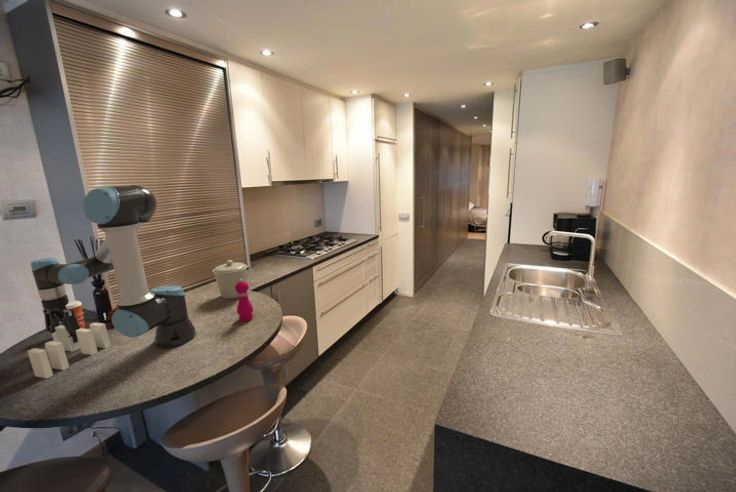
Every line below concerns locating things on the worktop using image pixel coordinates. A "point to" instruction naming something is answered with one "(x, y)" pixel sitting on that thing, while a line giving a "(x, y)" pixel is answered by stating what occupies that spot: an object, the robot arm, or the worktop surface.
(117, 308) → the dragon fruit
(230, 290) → the canister
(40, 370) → the domino
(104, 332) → the domino
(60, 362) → the domino
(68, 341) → the domino
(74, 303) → the paper cup
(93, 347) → the domino
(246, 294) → the pepper mill
